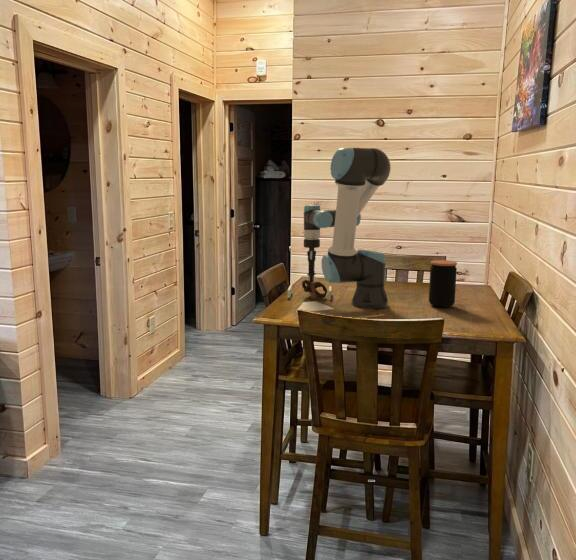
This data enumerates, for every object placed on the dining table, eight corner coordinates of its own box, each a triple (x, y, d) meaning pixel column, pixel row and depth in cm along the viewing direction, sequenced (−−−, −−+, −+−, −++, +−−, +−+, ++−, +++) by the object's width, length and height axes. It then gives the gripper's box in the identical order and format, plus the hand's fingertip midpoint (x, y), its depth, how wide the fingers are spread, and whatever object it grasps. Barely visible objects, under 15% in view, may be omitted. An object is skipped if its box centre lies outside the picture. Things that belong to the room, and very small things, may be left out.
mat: (334, 309, 222) (334, 308, 222) (298, 313, 215) (298, 312, 215) (315, 301, 236) (315, 301, 236) (281, 304, 229) (281, 304, 229)
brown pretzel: (289, 293, 252) (289, 285, 251) (331, 294, 250) (331, 285, 249) (287, 299, 240) (287, 290, 239) (331, 300, 238) (331, 291, 238)
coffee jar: (459, 306, 227) (461, 263, 224) (434, 307, 225) (437, 264, 222) (447, 301, 237) (450, 259, 234) (424, 301, 235) (426, 260, 232)
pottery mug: (321, 297, 249) (331, 287, 243) (314, 310, 241) (325, 300, 236) (300, 282, 247) (309, 271, 242) (293, 294, 240) (303, 283, 235)
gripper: (304, 237, 259) (304, 286, 263) (302, 240, 246) (302, 291, 250) (320, 237, 258) (319, 286, 262) (319, 240, 246) (318, 291, 250)
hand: (311, 288), depth 256 cm, fingers closed
